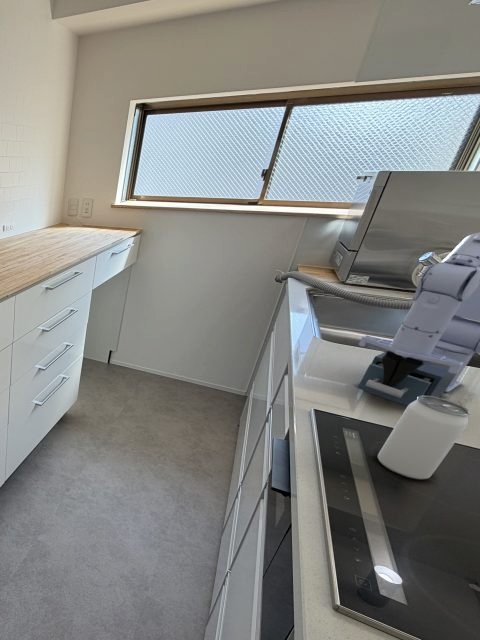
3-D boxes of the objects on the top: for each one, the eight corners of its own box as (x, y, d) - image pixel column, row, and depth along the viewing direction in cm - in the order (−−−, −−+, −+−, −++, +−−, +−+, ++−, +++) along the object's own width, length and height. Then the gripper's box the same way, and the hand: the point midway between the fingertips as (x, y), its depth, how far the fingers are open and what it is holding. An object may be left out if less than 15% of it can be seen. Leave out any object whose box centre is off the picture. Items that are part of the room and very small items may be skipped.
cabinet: (421, 409, 84) (442, 377, 81) (358, 386, 93) (375, 356, 89) (442, 395, 90) (462, 365, 87) (381, 375, 98) (397, 346, 95)
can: (441, 484, 64) (488, 419, 59) (393, 477, 65) (435, 413, 60) (410, 458, 70) (450, 397, 64) (366, 452, 71) (402, 391, 65)
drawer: (405, 414, 81) (420, 388, 78) (347, 392, 88) (360, 368, 85) (433, 395, 88) (448, 371, 86) (378, 377, 95) (390, 354, 93)
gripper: (366, 318, 82) (336, 378, 88) (470, 345, 71) (427, 411, 77) (380, 314, 85) (350, 371, 91) (482, 338, 74) (440, 402, 80)
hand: (386, 389), depth 85 cm, fingers closed, pressing on drawer
